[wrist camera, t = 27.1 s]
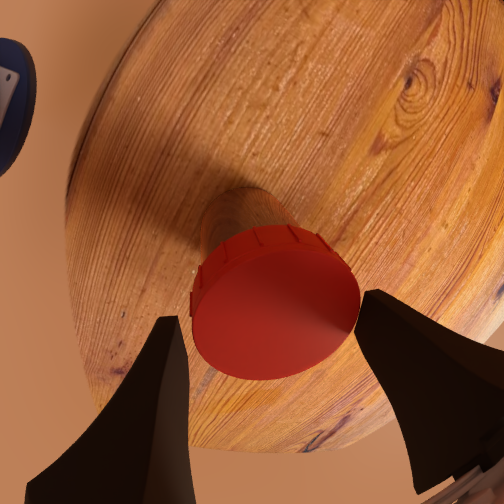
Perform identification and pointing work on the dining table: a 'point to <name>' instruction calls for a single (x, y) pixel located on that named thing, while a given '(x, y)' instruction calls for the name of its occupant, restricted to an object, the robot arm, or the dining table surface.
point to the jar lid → (272, 303)
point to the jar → (240, 216)
